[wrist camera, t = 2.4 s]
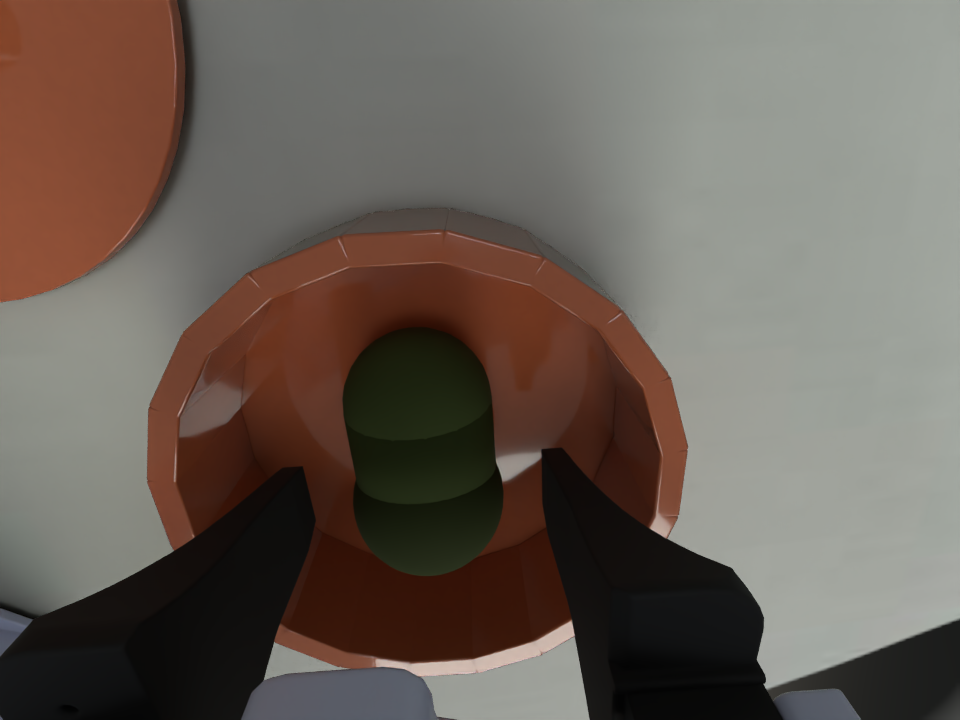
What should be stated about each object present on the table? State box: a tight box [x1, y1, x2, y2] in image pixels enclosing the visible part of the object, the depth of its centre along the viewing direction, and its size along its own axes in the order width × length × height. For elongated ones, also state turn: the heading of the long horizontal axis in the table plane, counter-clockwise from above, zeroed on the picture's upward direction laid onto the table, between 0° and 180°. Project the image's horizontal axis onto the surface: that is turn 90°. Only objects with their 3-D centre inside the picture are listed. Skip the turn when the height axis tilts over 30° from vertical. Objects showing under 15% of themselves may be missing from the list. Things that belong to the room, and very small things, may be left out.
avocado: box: [342, 327, 504, 576], centre depth 16 cm, size 8×5×5 cm, turn 4°
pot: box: [147, 208, 688, 677], centre depth 17 cm, size 15×15×5 cm
